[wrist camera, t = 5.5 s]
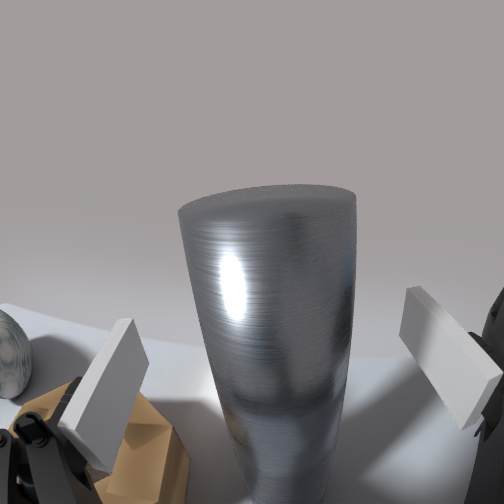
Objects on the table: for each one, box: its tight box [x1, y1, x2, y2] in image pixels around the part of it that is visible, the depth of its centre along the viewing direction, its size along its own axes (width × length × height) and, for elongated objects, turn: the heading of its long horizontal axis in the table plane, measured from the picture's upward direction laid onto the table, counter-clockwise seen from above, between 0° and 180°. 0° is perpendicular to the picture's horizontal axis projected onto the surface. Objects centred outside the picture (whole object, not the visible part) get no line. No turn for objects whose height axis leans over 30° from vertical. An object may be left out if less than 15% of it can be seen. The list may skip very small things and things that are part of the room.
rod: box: [178, 184, 357, 504], centre depth 10 cm, size 4×4×16 cm
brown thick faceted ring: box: [8, 379, 191, 504], centre depth 12 cm, size 12×12×4 cm
